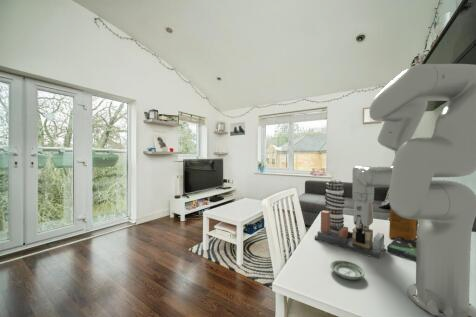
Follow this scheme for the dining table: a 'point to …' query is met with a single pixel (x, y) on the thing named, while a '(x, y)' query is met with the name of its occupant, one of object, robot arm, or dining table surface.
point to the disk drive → (403, 248)
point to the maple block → (368, 238)
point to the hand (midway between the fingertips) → (362, 240)
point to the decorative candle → (335, 203)
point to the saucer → (347, 269)
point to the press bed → (347, 243)
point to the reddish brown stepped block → (326, 226)
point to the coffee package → (402, 227)
